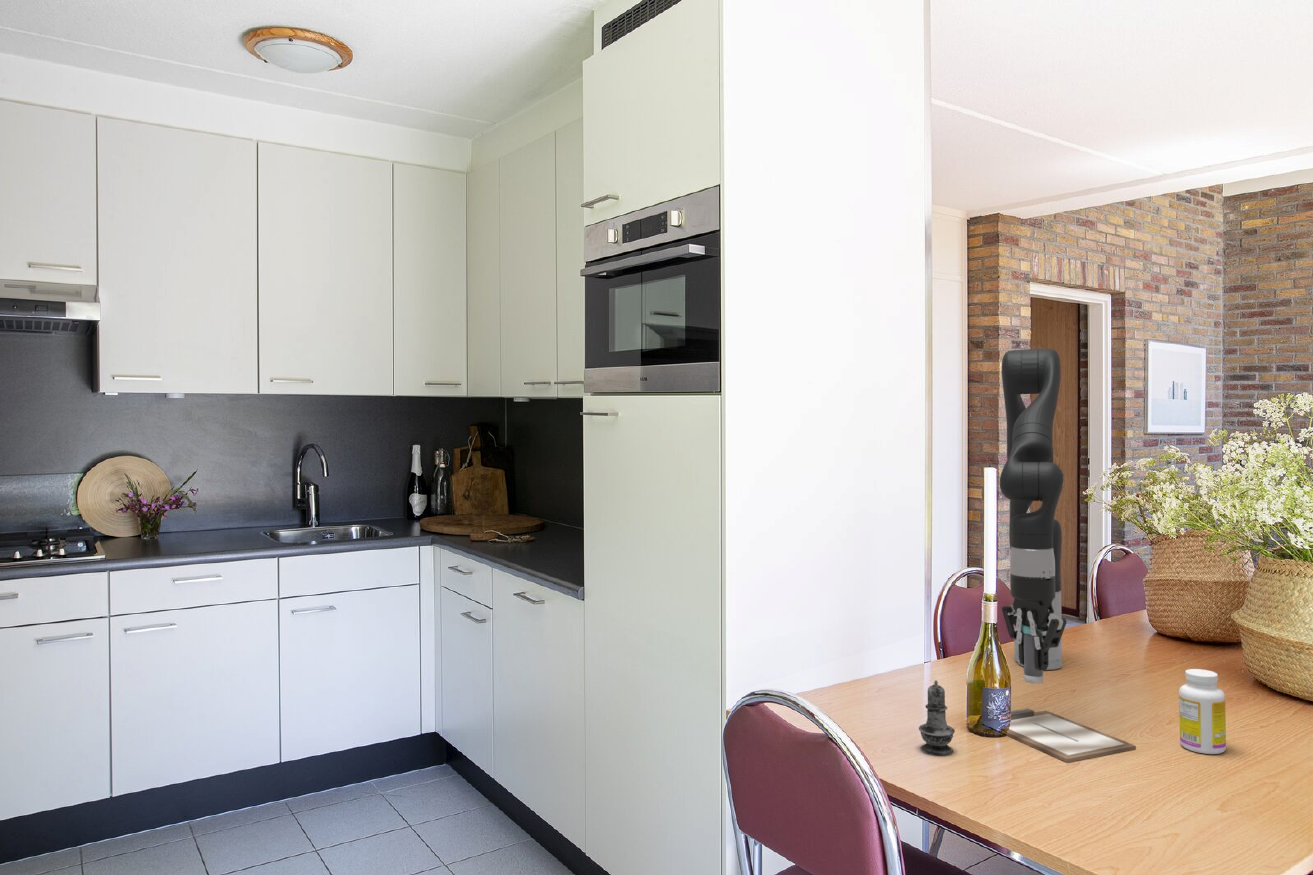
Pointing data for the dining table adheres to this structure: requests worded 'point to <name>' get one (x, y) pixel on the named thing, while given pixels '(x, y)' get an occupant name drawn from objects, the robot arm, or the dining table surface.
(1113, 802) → the dining table surface
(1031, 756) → the dining table surface
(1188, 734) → the supplement bottle
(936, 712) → the salt shaker
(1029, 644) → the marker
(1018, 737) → the clipboard
